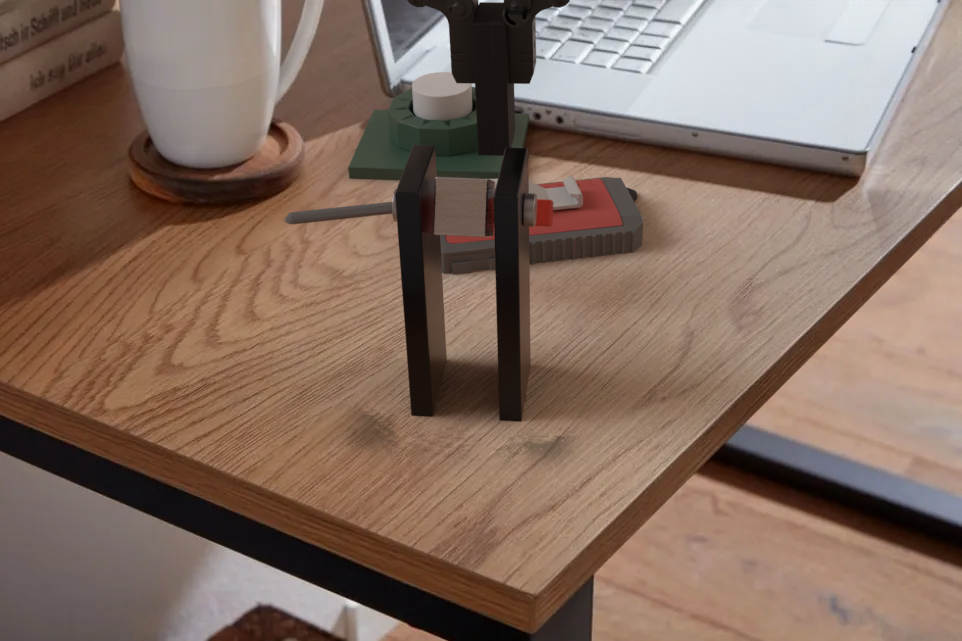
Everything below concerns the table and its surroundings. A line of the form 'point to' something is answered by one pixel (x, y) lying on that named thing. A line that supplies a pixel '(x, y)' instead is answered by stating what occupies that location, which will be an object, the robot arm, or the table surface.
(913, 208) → the table surface
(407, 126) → the switch box
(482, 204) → the lever
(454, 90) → the button
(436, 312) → the bracket
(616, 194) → the walkie-talkie
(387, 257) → the table surface
